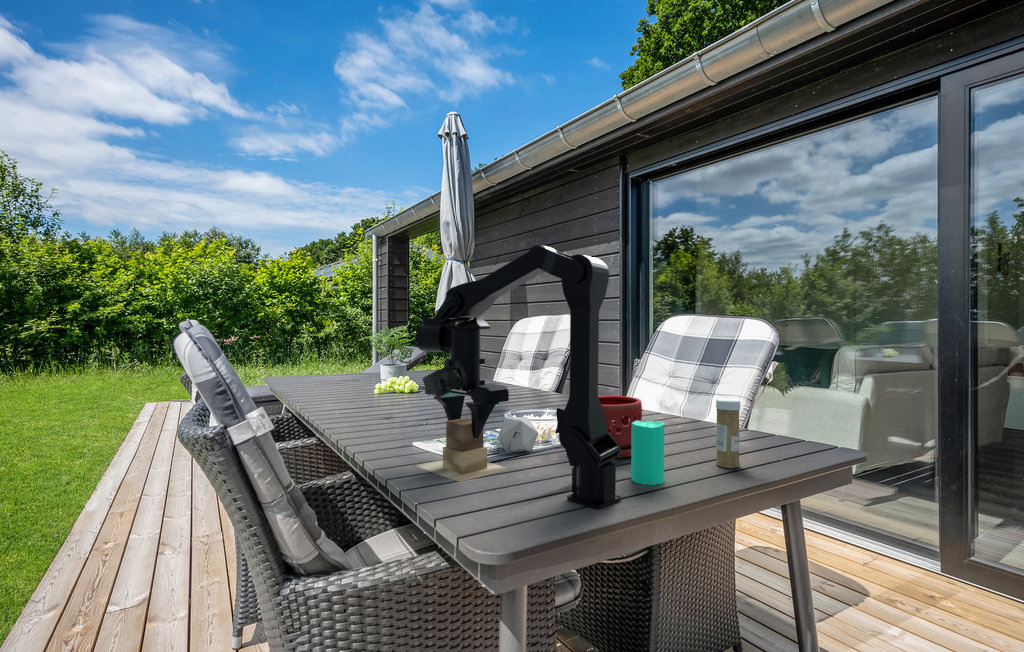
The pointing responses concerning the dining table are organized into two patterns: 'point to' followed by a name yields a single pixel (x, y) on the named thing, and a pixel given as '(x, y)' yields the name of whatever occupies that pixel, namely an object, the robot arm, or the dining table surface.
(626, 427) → the plant pot
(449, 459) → the oak block
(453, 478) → the building board
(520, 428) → the die
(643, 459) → the candle
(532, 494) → the dining table surface
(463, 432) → the walnut cube
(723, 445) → the sprinkles bottle
